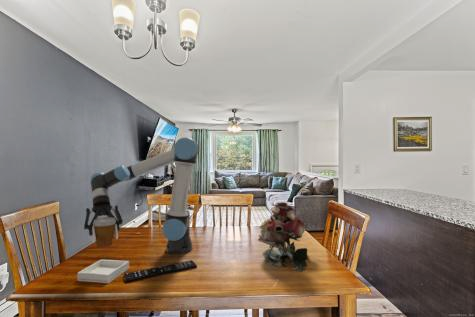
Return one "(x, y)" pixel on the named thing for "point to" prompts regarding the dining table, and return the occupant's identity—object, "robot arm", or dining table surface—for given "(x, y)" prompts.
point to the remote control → (159, 271)
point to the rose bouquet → (283, 237)
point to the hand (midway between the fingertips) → (105, 239)
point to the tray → (103, 271)
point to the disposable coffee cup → (104, 231)
